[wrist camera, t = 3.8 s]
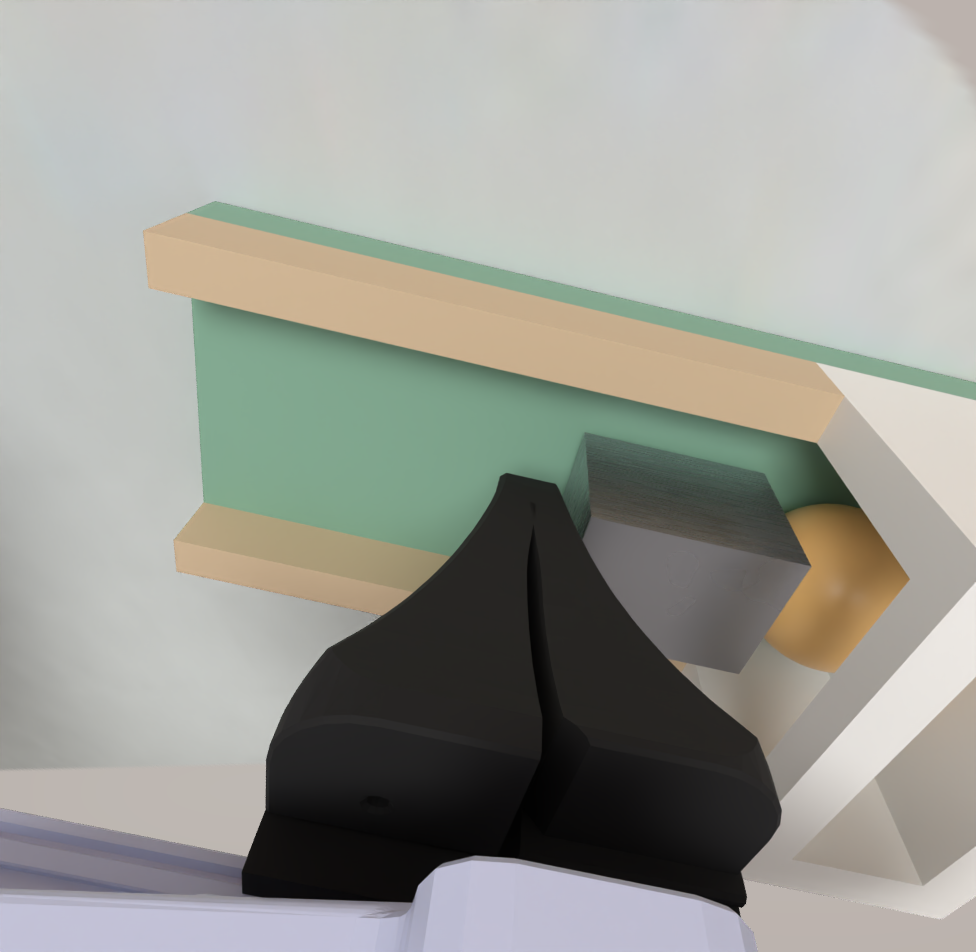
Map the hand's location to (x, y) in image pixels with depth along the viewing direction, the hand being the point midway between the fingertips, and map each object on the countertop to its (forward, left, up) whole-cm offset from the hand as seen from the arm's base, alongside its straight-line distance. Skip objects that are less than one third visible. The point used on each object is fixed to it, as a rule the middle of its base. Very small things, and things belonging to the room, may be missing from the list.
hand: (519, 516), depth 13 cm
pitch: (+1, 0, -3) cm, 3 cm away
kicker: (+3, 0, -1) cm, 3 cm away
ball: (+7, 0, 0) cm, 7 cm away
